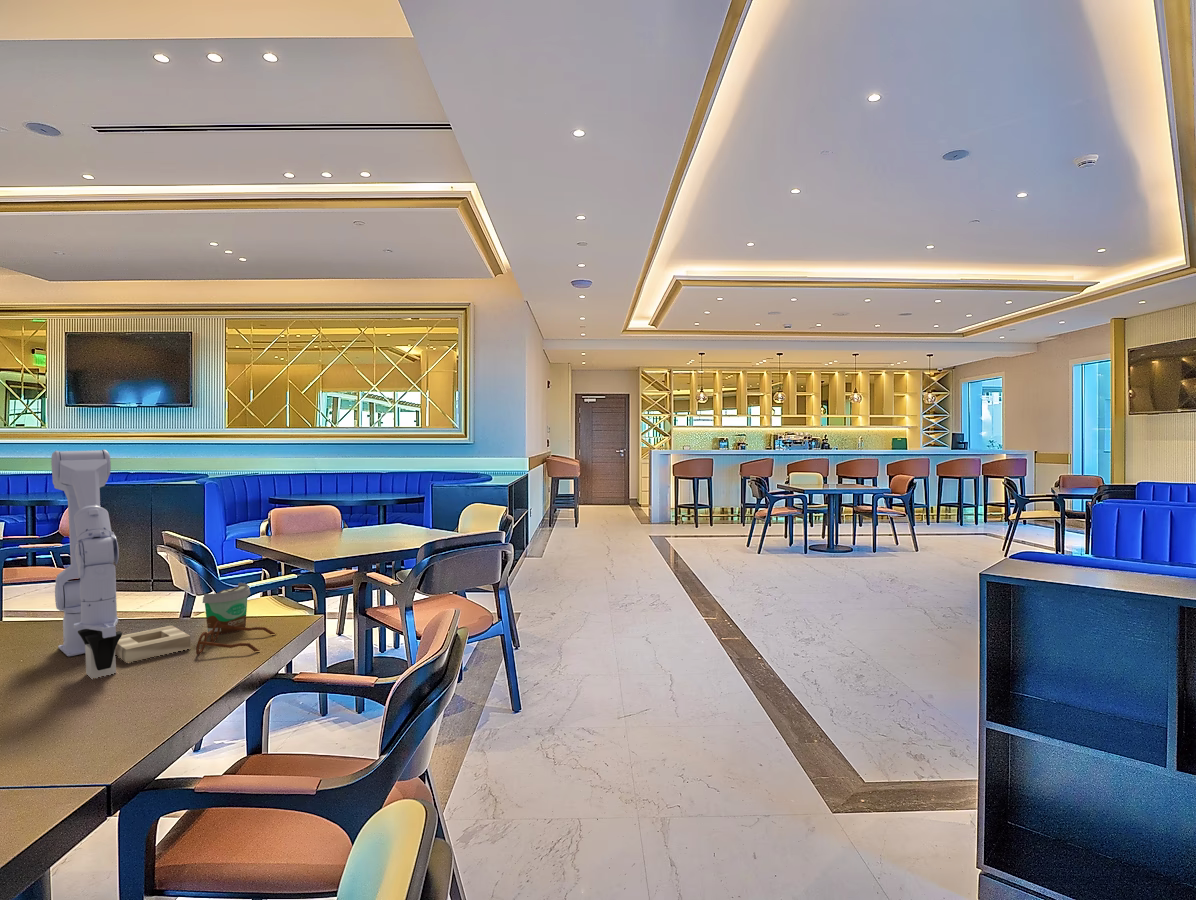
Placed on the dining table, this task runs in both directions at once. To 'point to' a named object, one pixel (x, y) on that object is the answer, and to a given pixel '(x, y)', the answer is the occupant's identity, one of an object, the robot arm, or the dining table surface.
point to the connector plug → (91, 666)
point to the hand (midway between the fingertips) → (100, 666)
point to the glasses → (226, 644)
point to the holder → (152, 643)
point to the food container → (227, 608)
